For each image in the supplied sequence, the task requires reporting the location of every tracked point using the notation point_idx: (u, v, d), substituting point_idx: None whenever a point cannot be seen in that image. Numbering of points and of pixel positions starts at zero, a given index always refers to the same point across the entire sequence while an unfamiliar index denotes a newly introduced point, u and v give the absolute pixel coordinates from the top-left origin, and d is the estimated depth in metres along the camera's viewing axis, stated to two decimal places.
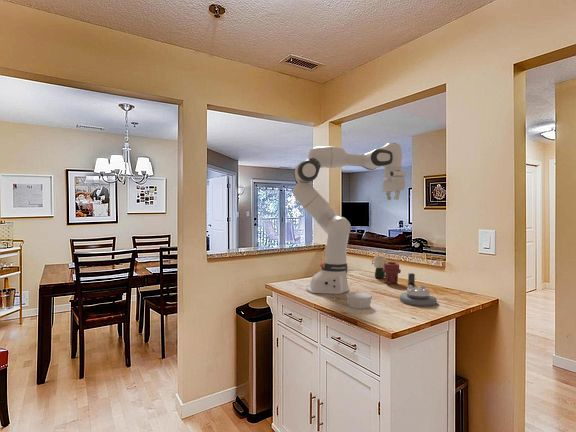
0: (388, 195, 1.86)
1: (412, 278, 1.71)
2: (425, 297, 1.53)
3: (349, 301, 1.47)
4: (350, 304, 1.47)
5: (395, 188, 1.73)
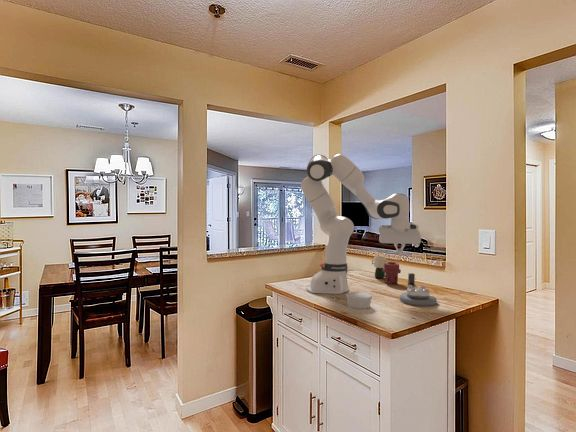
0: None
1: (412, 278, 1.71)
2: (425, 297, 1.53)
3: (349, 301, 1.47)
4: (350, 304, 1.47)
5: (415, 241, 1.70)
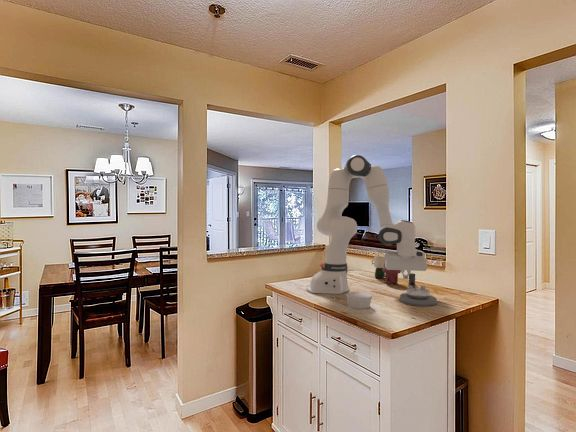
0: (403, 273, 1.73)
1: (413, 278, 1.71)
2: (425, 297, 1.53)
3: (349, 301, 1.47)
4: (350, 304, 1.47)
5: (421, 268, 1.70)
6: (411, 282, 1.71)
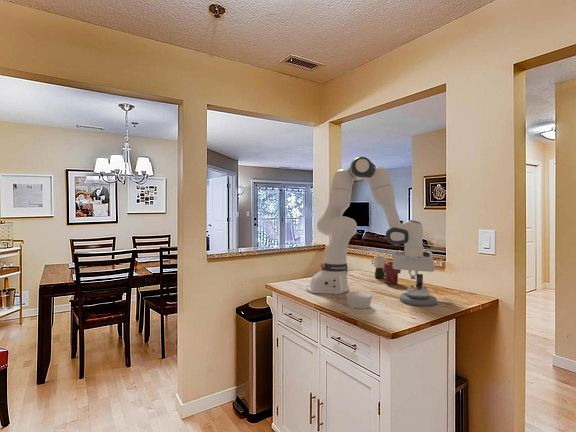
0: (411, 274, 1.73)
1: (419, 278, 1.70)
2: (422, 297, 1.53)
3: (349, 301, 1.47)
4: (350, 304, 1.47)
5: (428, 269, 1.68)
6: (418, 282, 1.70)
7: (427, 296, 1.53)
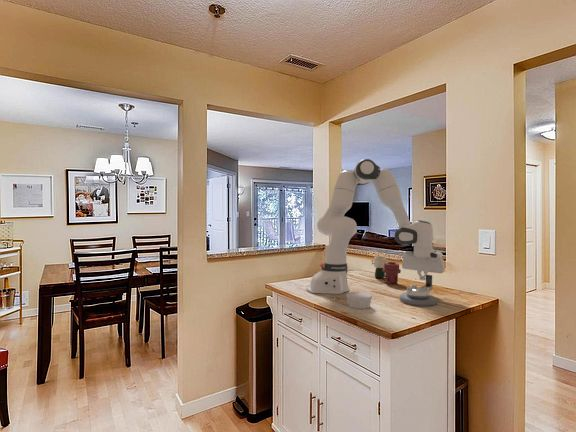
0: (420, 274, 1.71)
1: (428, 279, 1.68)
2: (419, 297, 1.53)
3: (349, 301, 1.47)
4: (350, 304, 1.47)
5: (437, 270, 1.65)
6: (426, 283, 1.68)
7: (425, 296, 1.53)
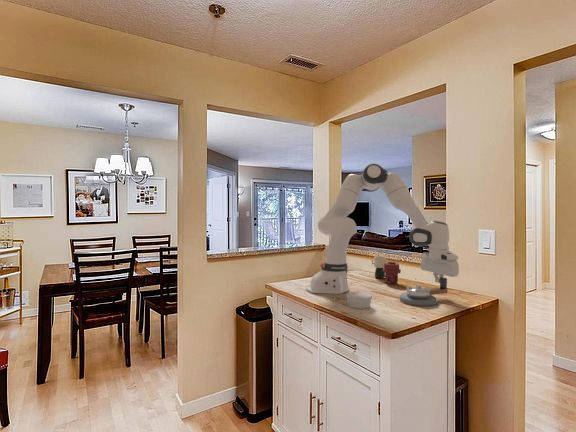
0: (436, 276, 1.66)
1: (441, 282, 1.62)
2: (413, 296, 1.54)
3: (349, 301, 1.47)
4: (350, 304, 1.47)
5: (448, 273, 1.58)
6: (440, 286, 1.63)
7: (419, 296, 1.53)
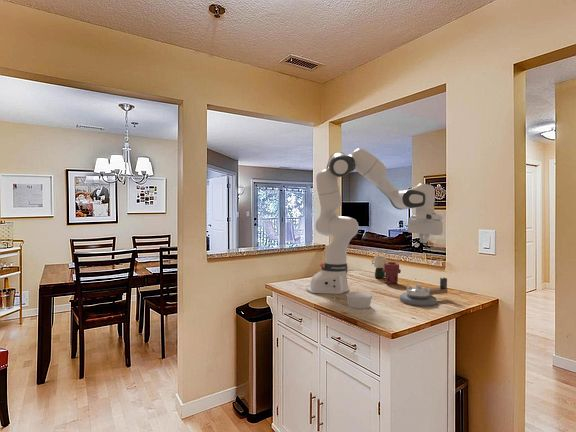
0: (421, 237, 1.73)
1: (441, 282, 1.62)
2: (413, 296, 1.54)
3: (349, 301, 1.47)
4: (350, 304, 1.47)
5: (432, 232, 1.64)
6: (440, 286, 1.63)
7: (419, 296, 1.53)
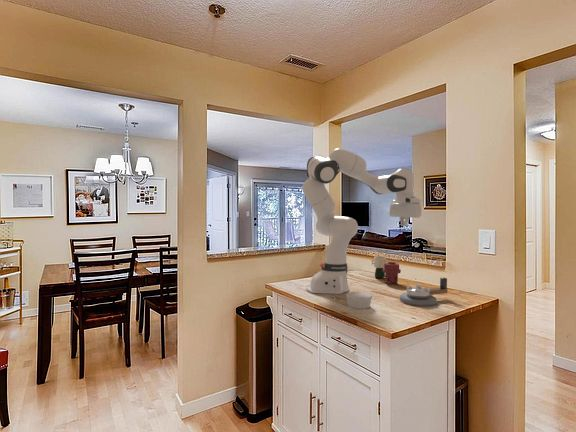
0: (402, 220, 1.80)
1: (441, 282, 1.62)
2: (413, 296, 1.54)
3: (349, 301, 1.47)
4: (350, 304, 1.47)
5: (411, 215, 1.71)
6: (440, 286, 1.63)
7: (419, 296, 1.53)
